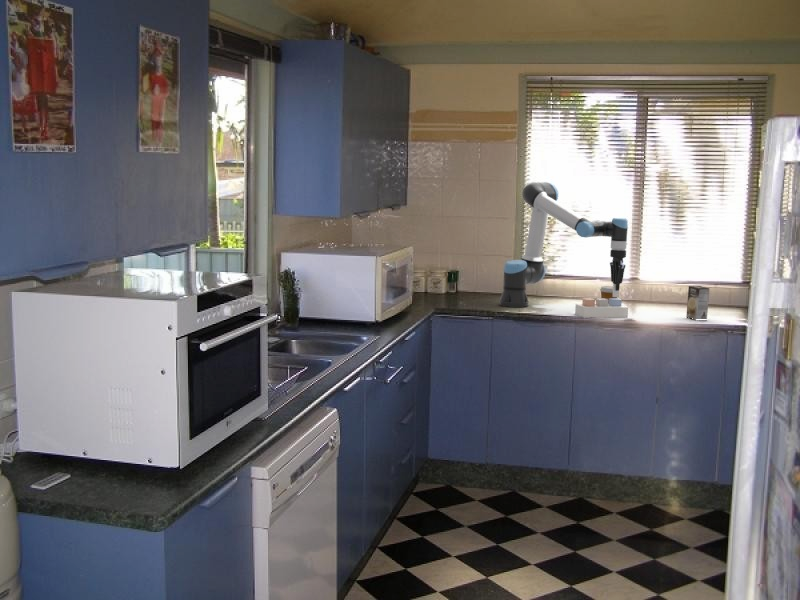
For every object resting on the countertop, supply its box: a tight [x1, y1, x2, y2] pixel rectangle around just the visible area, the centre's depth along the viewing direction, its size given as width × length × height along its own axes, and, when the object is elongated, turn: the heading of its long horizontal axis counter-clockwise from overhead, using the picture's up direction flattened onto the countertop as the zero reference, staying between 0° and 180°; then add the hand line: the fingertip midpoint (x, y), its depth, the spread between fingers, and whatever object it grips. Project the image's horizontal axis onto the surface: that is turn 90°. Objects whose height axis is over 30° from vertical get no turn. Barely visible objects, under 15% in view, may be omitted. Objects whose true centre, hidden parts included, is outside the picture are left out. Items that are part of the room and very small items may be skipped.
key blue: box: [609, 297, 622, 306], centre depth 454 cm, size 5×5×6 cm
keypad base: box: [574, 303, 629, 319], centre depth 453 cm, size 11×23×5 cm, turn 102°
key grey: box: [595, 297, 608, 307], centre depth 452 cm, size 5×5×6 cm
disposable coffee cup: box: [599, 285, 618, 304], centre depth 470 cm, size 10×10×12 cm
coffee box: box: [685, 285, 711, 320], centre depth 449 cm, size 9×6×16 cm
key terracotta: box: [581, 297, 596, 307], centre depth 451 cm, size 5×5×6 cm
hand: (615, 296), depth 453 cm, fingers closed
